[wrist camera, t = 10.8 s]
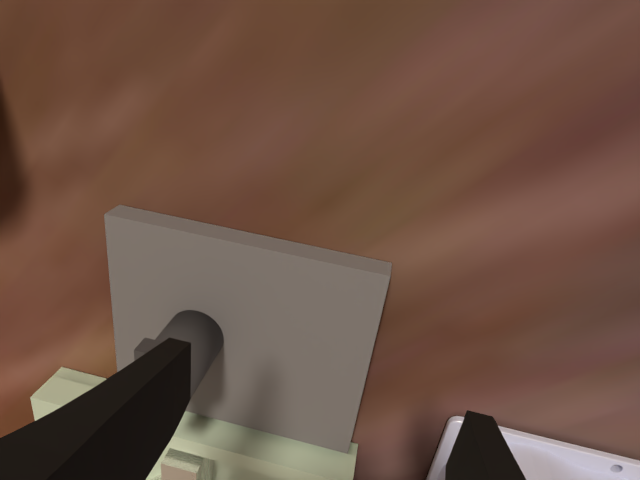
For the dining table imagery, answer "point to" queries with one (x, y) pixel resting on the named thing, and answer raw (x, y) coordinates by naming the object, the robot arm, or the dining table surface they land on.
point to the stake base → (249, 320)
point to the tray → (219, 441)
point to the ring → (185, 467)
